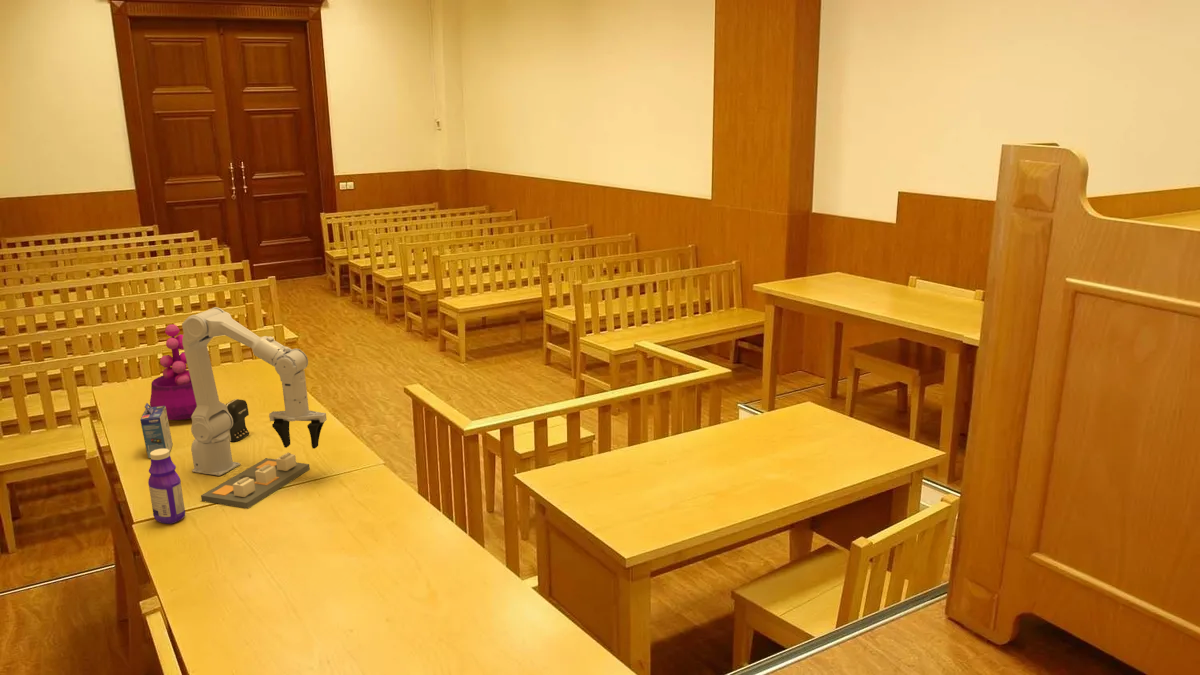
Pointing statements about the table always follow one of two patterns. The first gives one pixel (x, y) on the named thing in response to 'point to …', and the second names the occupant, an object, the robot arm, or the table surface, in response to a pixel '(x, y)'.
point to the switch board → (262, 490)
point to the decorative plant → (174, 381)
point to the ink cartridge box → (156, 429)
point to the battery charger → (238, 419)
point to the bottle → (165, 488)
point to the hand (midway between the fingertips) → (301, 446)
